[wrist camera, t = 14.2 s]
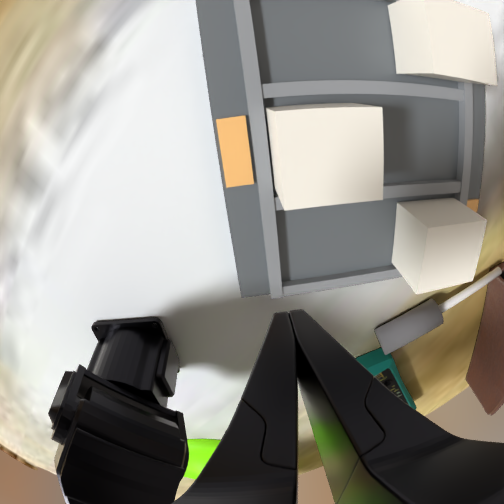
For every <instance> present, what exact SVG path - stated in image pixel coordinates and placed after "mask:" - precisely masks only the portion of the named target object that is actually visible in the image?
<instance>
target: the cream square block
mask: <svg viewBox="0 0 504 504" xmlns="http://www.w3.org/2000/svg"><path fill="white" fill-rule="evenodd" d="M388 11H389V17H390V23H391V30H392V37H393V45H394V54H395V63H396V74H405V75H415V76H423V77H431V78H438V79H445V80H451V81H457V82H468V83H477V84H485V85H493V86H497V74H496V61H495V52H494V43H493V36H492V29H491V23H490V18H489V13H486V12H484V11H481V10H479V9H476V8H474V7H471V6H468V5H465V4H463V3H460V2H457V1H454V0H399V1H397V2H394V3H392V4H390V5H388Z"/></svg>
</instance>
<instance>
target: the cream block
mask: <svg viewBox="0 0 504 504" xmlns="http://www.w3.org/2000/svg"><path fill="white" fill-rule="evenodd" d="M265 109H266V117H267V126H268V134H269V143H270V152H271V161H272V171H273V180H274V187H275V189H276V192H277V194H278V196H279V199H280V201H281V203H282V206H283V208H284V211H286V210H294V209H303V208H311V207H320V206H329V205H338V204H347V203H357V202H367V201H377V200H383V175H384V142H383V111H382V107H378V106H371V105H365V104H357V103H324V104H305V105H290V106H278V107H268V108H265Z"/></svg>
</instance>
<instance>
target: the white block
mask: <svg viewBox="0 0 504 504" xmlns="http://www.w3.org/2000/svg"><path fill="white" fill-rule="evenodd" d="M486 223H487V220H486V219H485V218H483V217H482V216H480V215H479V214H478V213H476V212H475V211H473V210H472V209H470V208H469V207H467V206H466V205H464V204H463V203H461V202H460V201H458V200H456V199H455V198H441V199H429V200H418V201H407V202H397V210H396V223H395V234H394V244H393V254H392V264H393V265H394V266H395V267H396V269H397V270H398V271H399V272H400V274H401V275H402V276H403V278H404V279H405V280H406V282H407V283H408V284H409V285H410V287H411V288H412V289H413V291H414V292H415V293H416V295H417V294H421V293H425V292H430V291H434V290H438V289H443V288H447V287H451V286H455V285H459V284H463V283H467V282H471V281H473V278H474V275H475V271H476V267H477V263H478V259H479V255H480V251H481V247H482V242H483V238H484V233H485V228H486Z"/></svg>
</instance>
